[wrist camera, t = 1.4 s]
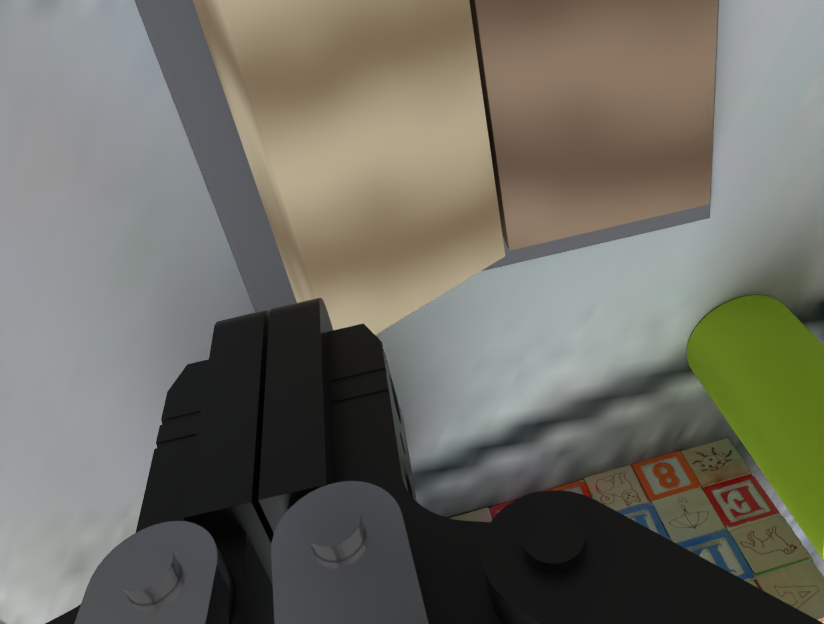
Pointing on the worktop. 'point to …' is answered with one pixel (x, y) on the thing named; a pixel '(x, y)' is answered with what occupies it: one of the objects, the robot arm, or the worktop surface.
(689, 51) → the walnut plank
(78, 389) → the worktop surface
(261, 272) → the underlay mat
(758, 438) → the soap dispenser
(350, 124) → the oak plank
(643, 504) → the stack of blocks
